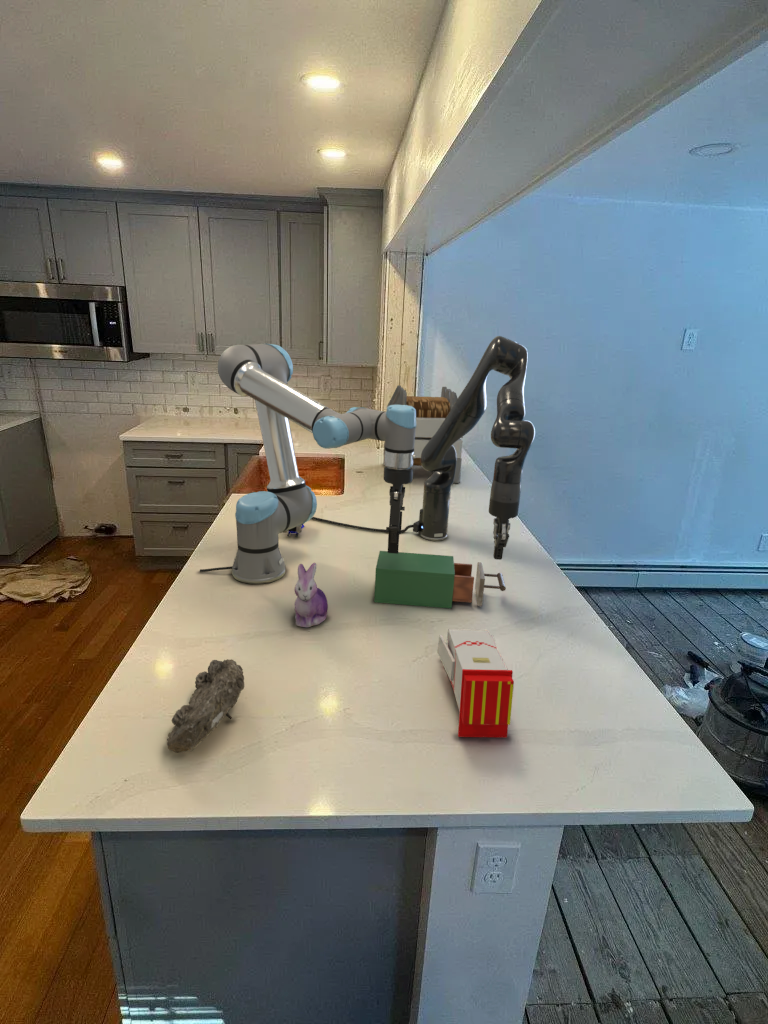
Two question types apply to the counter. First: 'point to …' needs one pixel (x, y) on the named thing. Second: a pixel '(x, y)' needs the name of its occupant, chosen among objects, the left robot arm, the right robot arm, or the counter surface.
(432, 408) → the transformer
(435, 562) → the cabinet
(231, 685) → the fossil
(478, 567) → the drawer
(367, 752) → the counter surface
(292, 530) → the figurine character
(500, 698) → the toy
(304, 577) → the figurine
